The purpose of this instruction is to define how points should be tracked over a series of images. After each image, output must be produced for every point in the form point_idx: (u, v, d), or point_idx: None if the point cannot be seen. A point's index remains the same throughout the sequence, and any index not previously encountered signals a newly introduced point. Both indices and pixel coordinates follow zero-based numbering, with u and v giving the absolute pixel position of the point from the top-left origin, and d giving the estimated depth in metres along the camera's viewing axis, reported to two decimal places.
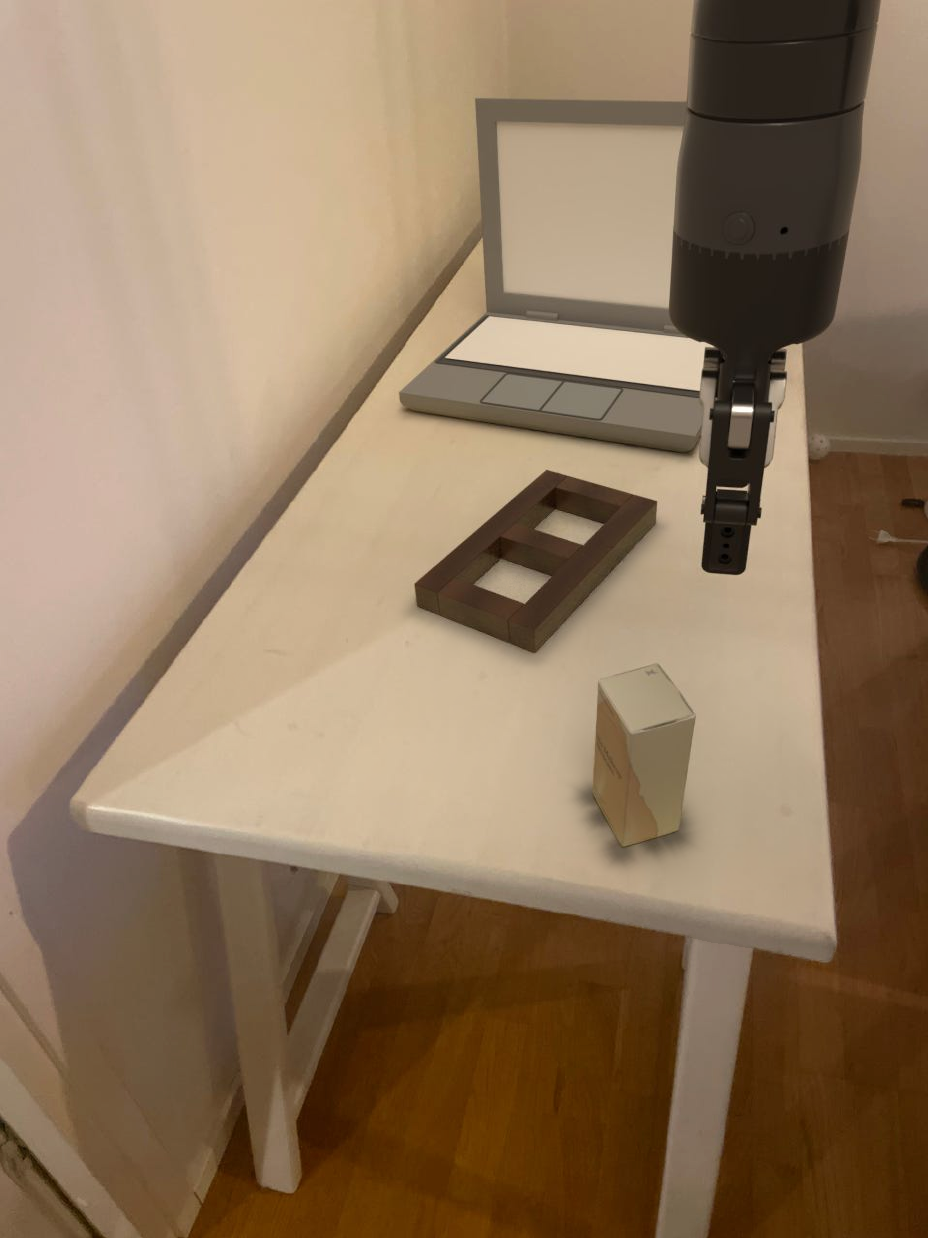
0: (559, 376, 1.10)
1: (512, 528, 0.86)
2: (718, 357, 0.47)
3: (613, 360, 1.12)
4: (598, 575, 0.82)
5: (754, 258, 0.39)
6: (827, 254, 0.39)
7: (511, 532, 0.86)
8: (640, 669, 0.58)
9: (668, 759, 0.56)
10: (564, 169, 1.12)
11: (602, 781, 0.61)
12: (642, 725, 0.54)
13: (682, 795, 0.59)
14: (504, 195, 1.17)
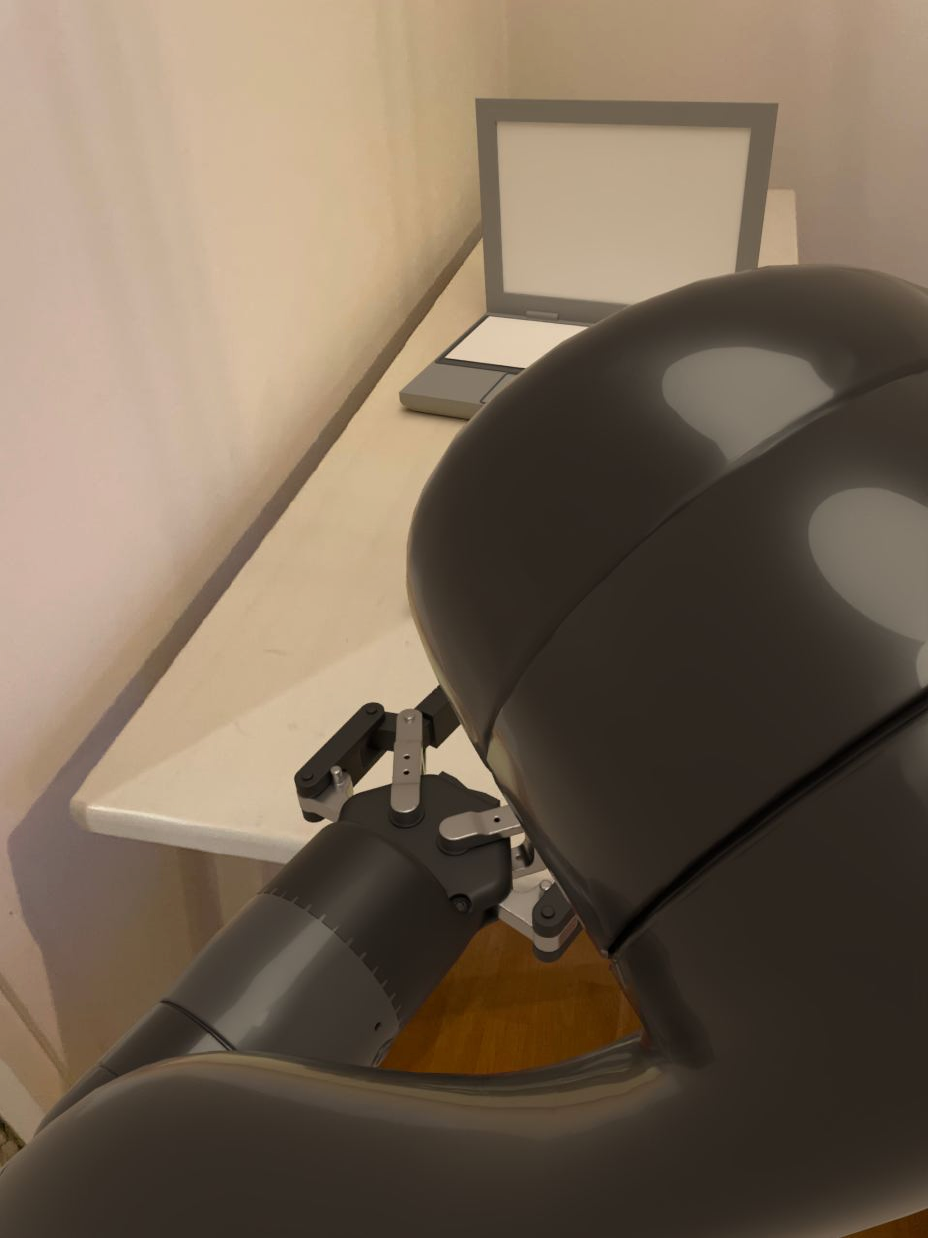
0: None
1: None
2: None
3: None
4: None
5: (402, 1019, 0.34)
6: (370, 950, 0.33)
7: None
8: None
9: None
10: (564, 169, 1.12)
11: None
12: None
13: None
14: (504, 195, 1.17)
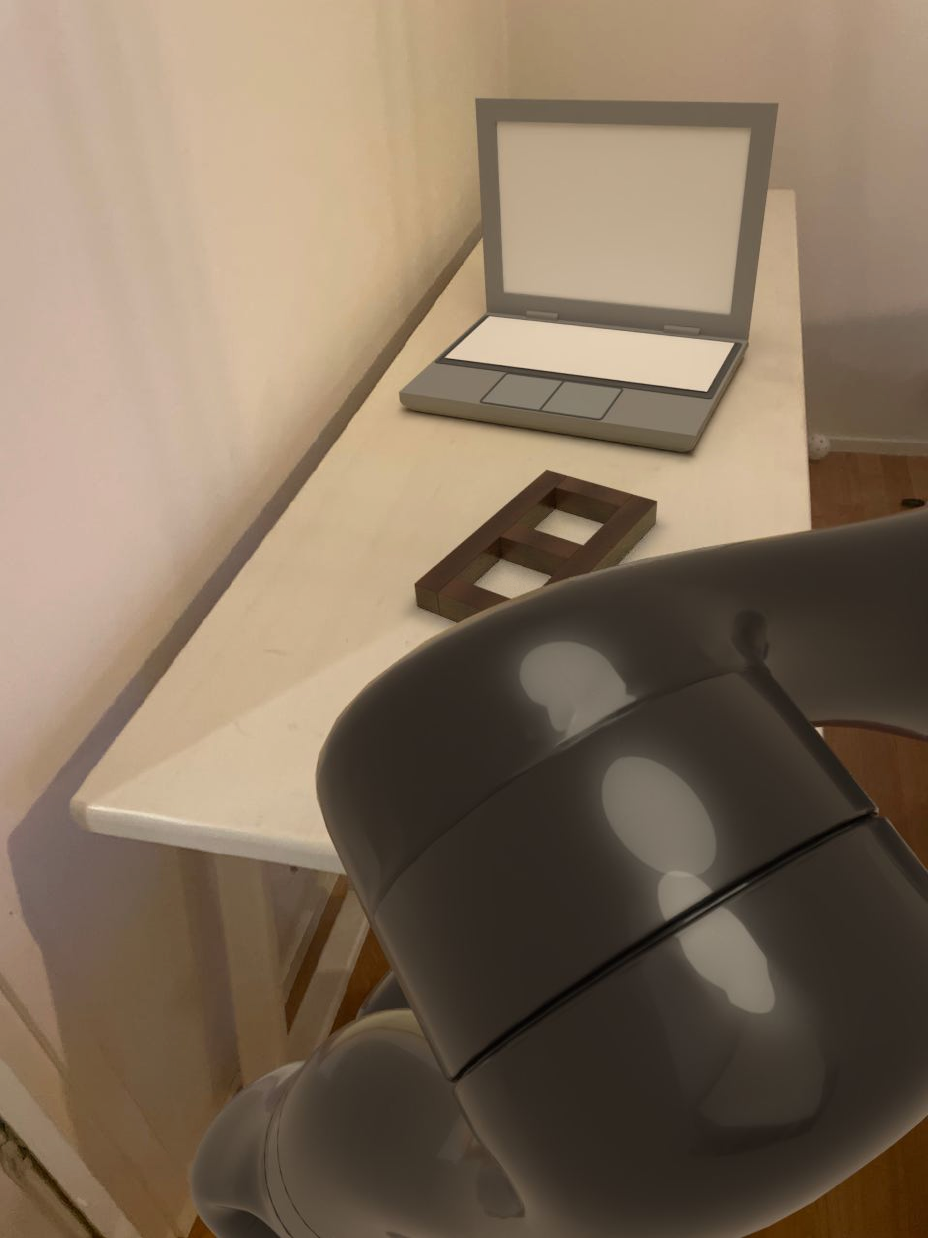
0: (559, 376, 1.10)
1: (512, 528, 0.86)
2: None
3: (613, 360, 1.12)
4: None
5: None
6: None
7: (511, 532, 0.86)
8: None
9: None
10: (564, 169, 1.12)
11: None
12: None
13: None
14: (504, 195, 1.17)
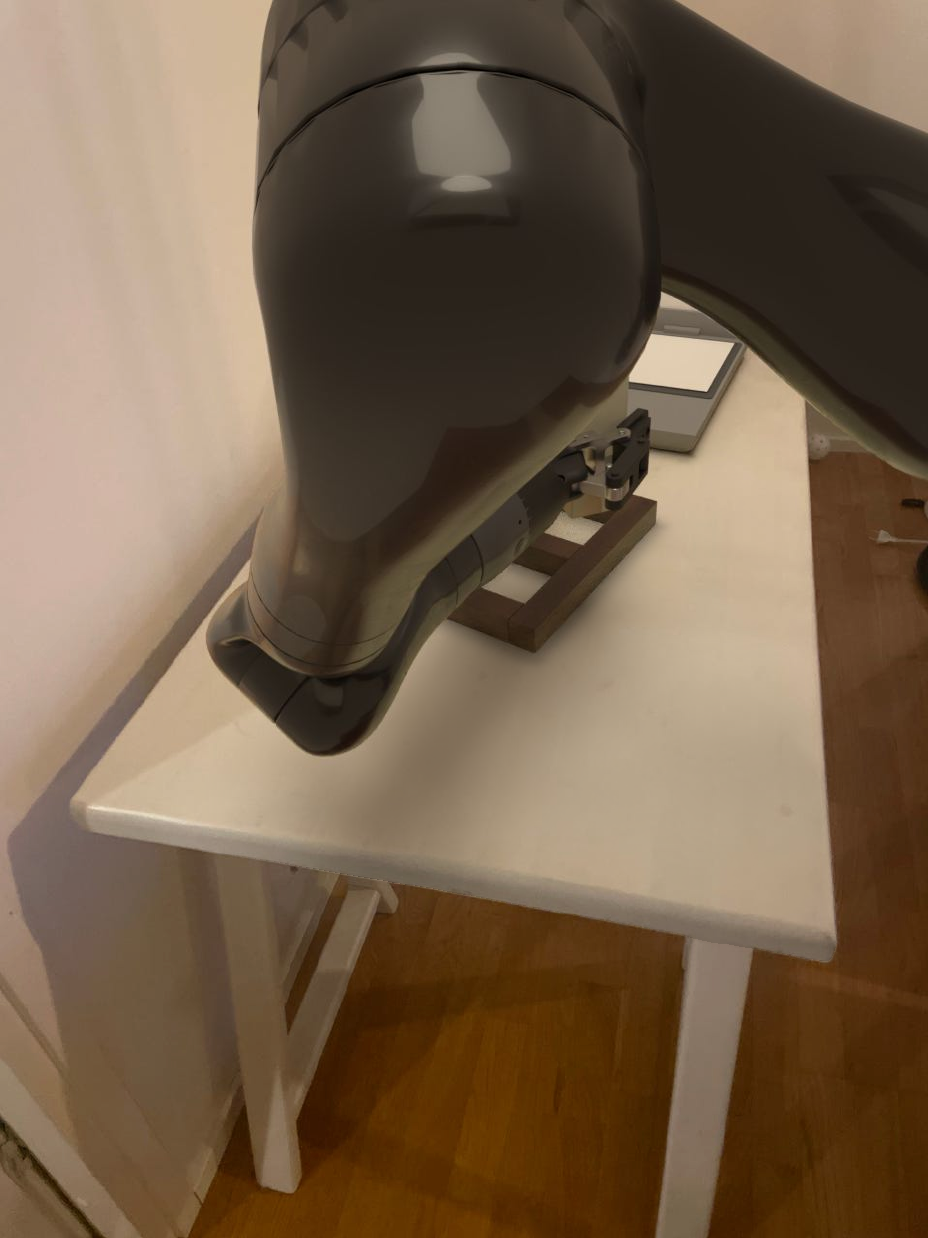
0: None
1: None
2: None
3: None
4: (598, 575, 0.82)
5: (531, 528, 0.59)
6: None
7: None
8: None
9: (606, 421, 0.66)
10: None
11: None
12: None
13: None
14: None
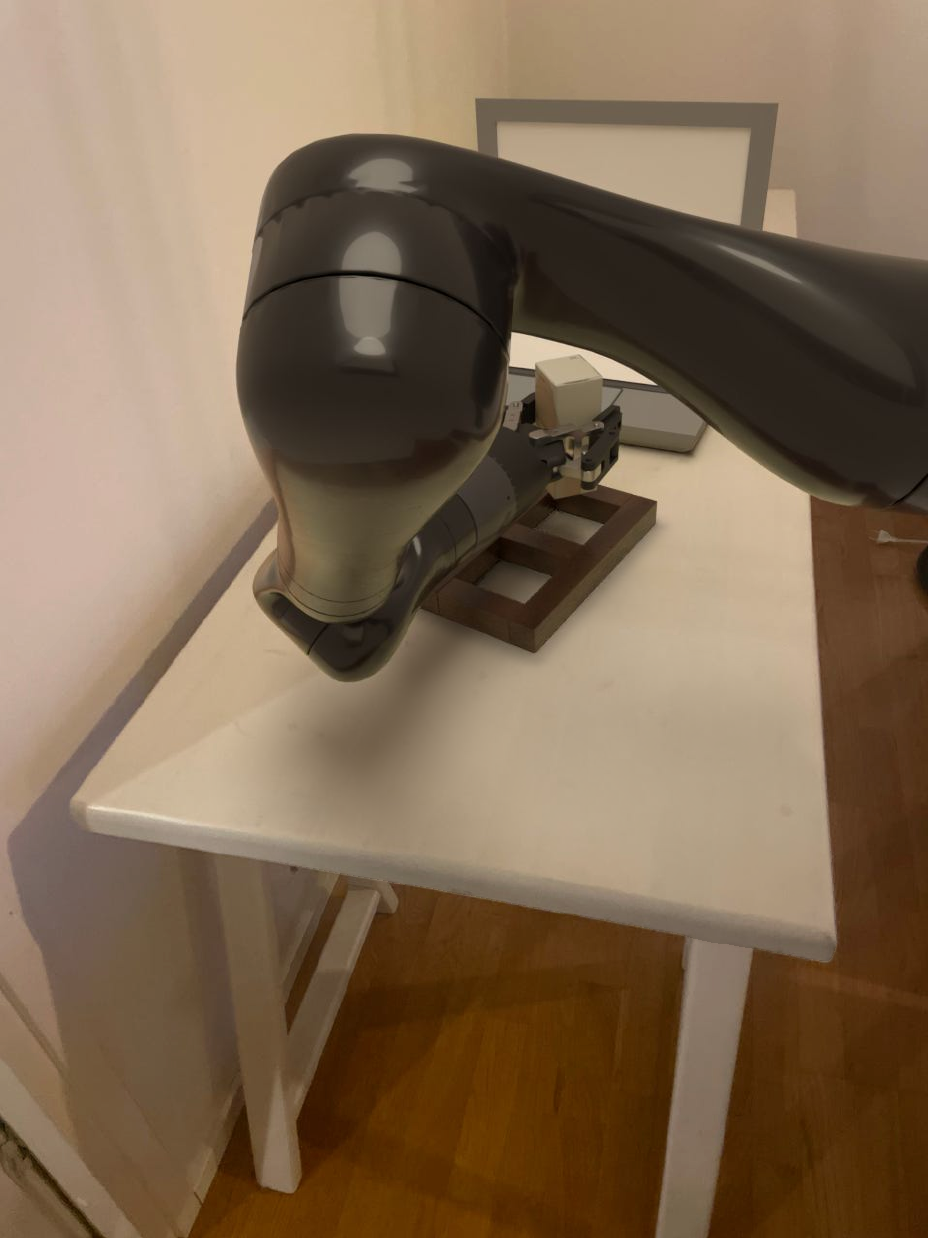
0: None
1: (512, 528, 0.86)
2: None
3: (613, 360, 1.12)
4: (598, 575, 0.82)
5: (517, 503, 0.71)
6: (504, 463, 0.70)
7: (511, 532, 0.86)
8: None
9: (584, 415, 0.78)
10: (564, 169, 1.12)
11: None
12: (563, 381, 0.76)
13: None
14: None
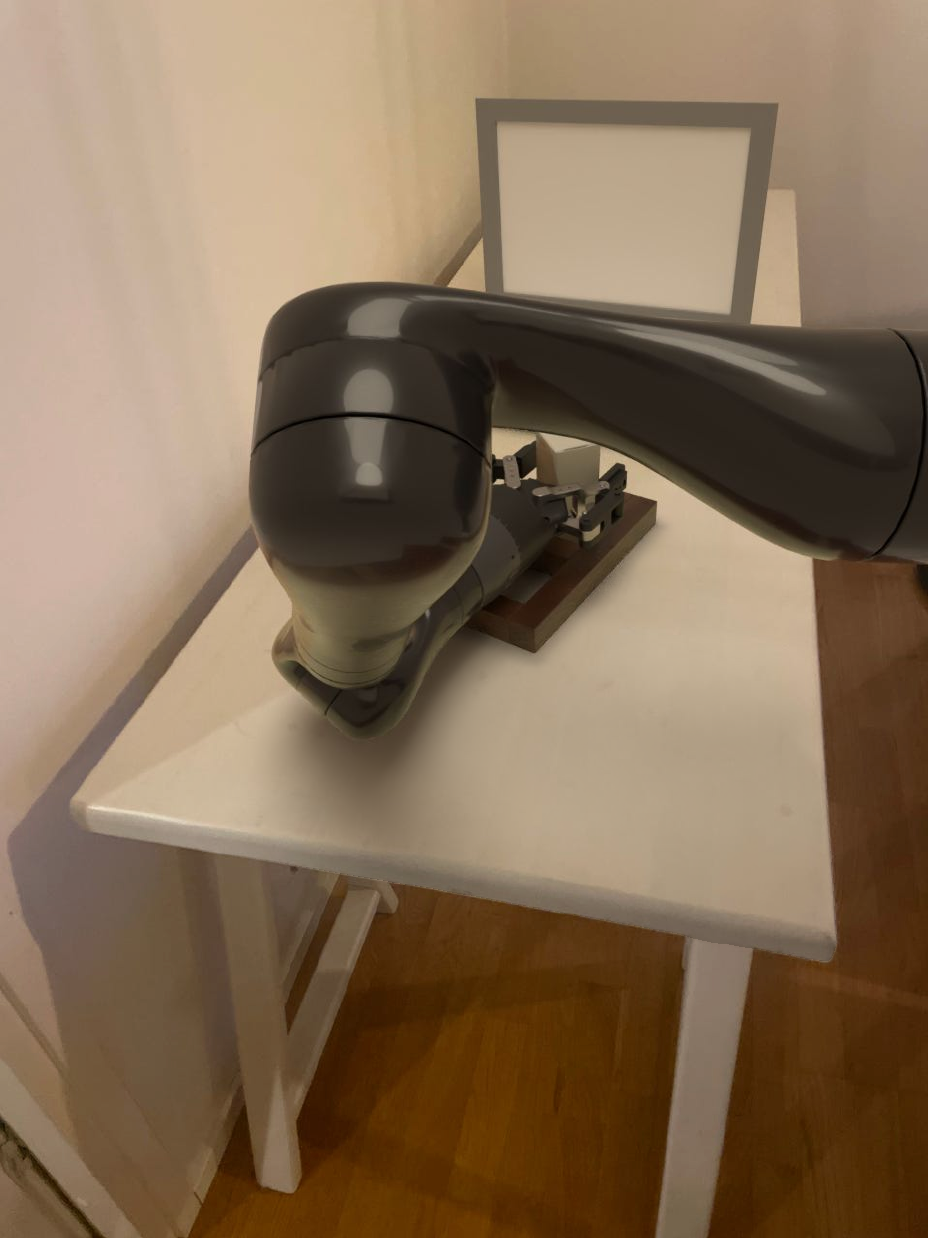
0: None
1: None
2: None
3: None
4: (598, 575, 0.82)
5: (521, 561, 0.74)
6: (508, 524, 0.73)
7: None
8: None
9: (583, 478, 0.82)
10: (564, 169, 1.12)
11: None
12: (563, 447, 0.80)
13: None
14: (504, 195, 1.17)
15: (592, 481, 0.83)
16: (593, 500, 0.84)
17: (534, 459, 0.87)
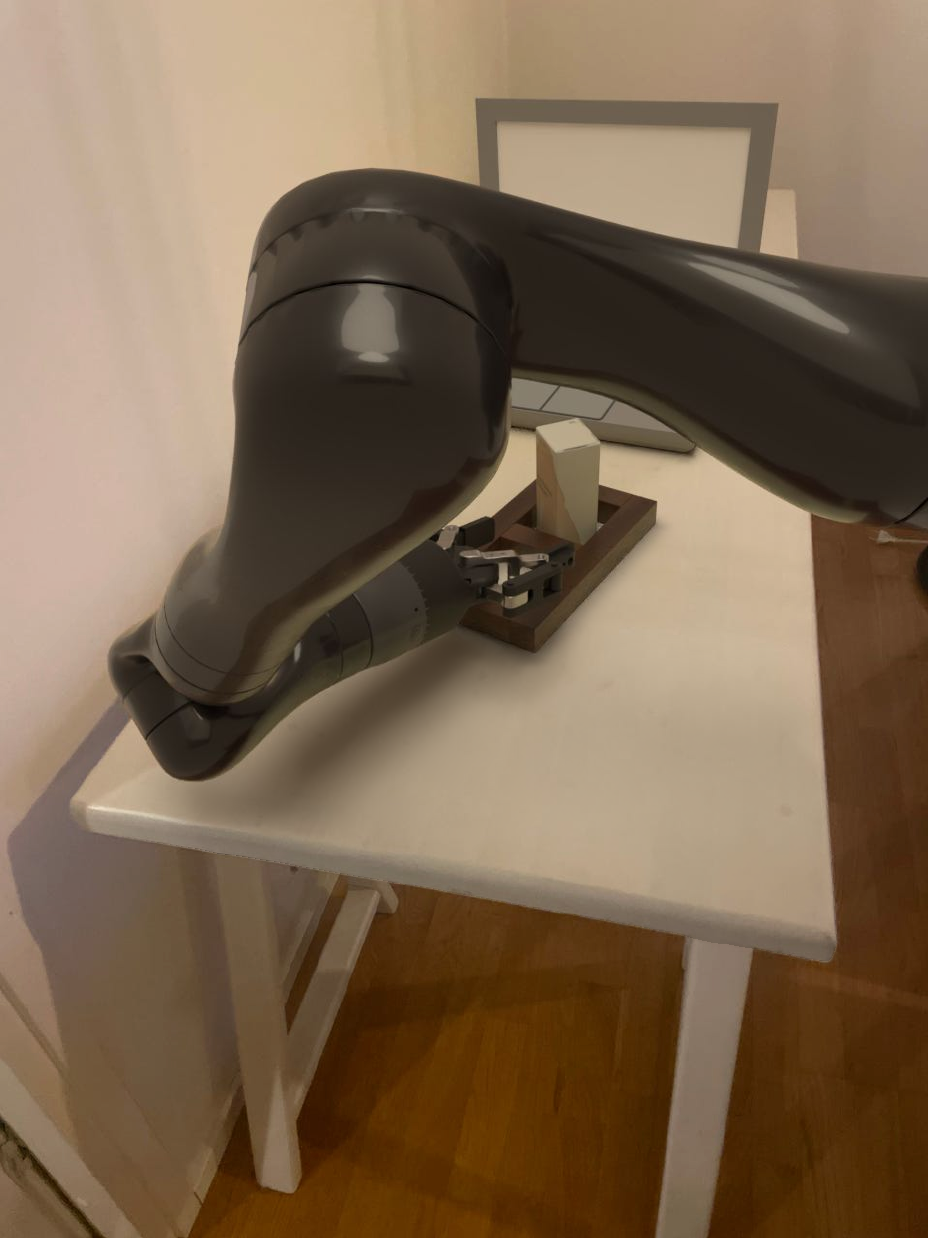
0: None
1: (512, 528, 0.86)
2: None
3: None
4: (598, 575, 0.82)
5: (428, 618, 0.66)
6: (416, 574, 0.65)
7: (511, 532, 0.86)
8: (565, 421, 0.84)
9: (583, 478, 0.82)
10: (564, 169, 1.12)
11: (541, 510, 0.87)
12: (563, 447, 0.80)
13: (596, 513, 0.85)
14: None
15: (592, 481, 0.83)
16: (593, 500, 0.84)
17: (482, 535, 0.80)
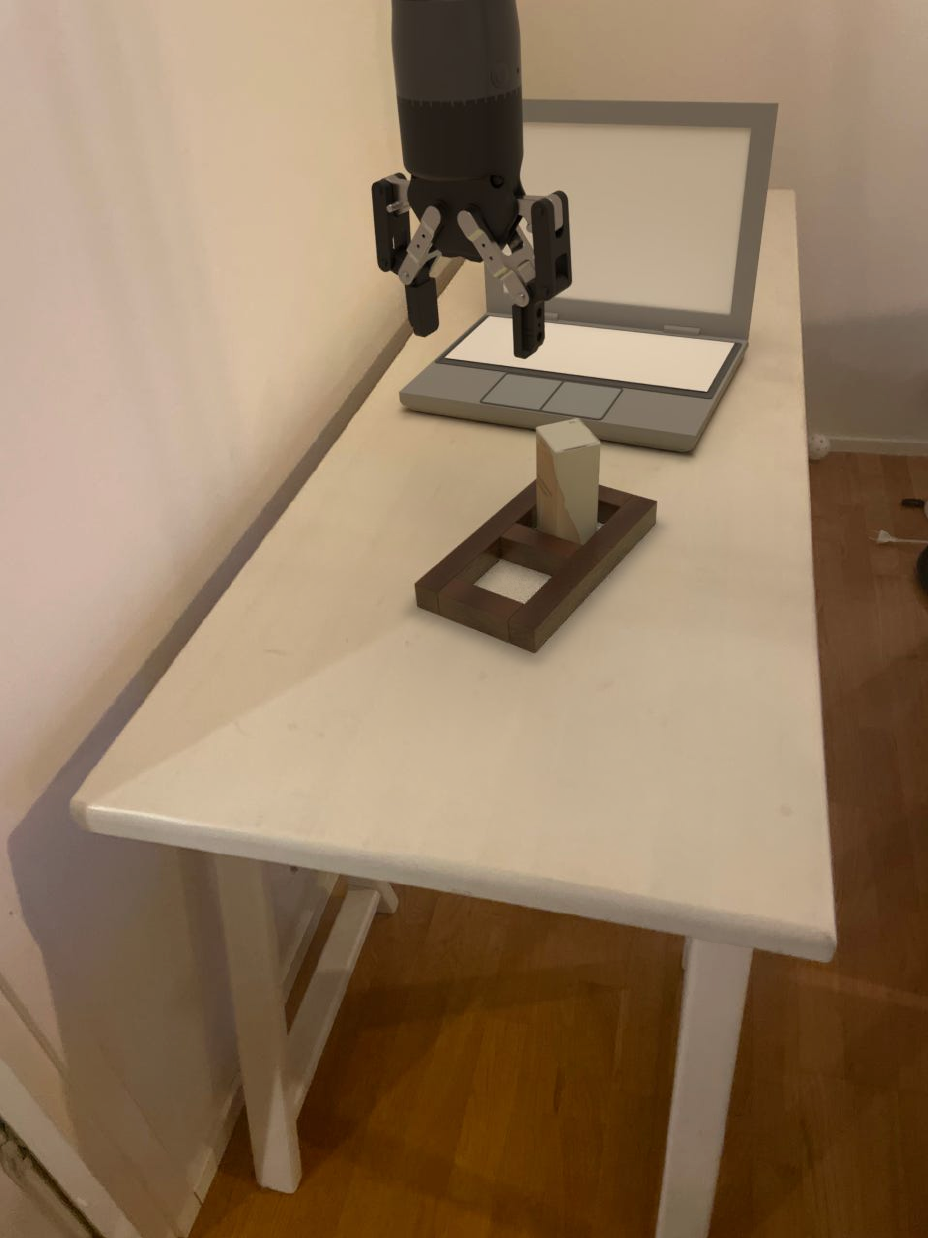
0: (559, 376, 1.10)
1: (512, 528, 0.86)
2: (445, 207, 0.60)
3: (613, 360, 1.12)
4: (598, 575, 0.82)
5: (510, 95, 0.54)
6: None
7: (511, 532, 0.86)
8: (565, 421, 0.84)
9: (583, 478, 0.82)
10: (564, 169, 1.12)
11: (541, 510, 0.87)
12: (563, 447, 0.80)
13: (596, 513, 0.85)
14: None
15: (592, 481, 0.83)
16: (593, 500, 0.84)
17: (427, 313, 0.67)
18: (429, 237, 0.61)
